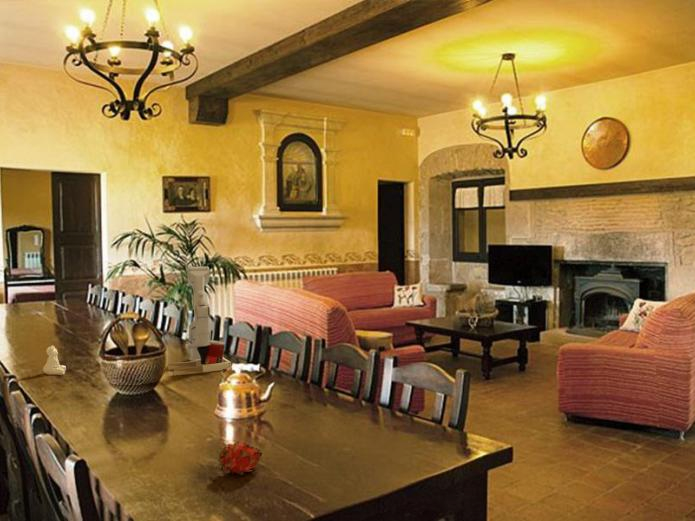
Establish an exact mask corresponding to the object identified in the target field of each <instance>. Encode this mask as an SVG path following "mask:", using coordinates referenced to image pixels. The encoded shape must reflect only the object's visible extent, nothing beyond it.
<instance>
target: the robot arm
mask: <svg viewBox="0 0 695 521" xmlns="http://www.w3.org/2000/svg"><path fill="white" fill-rule="evenodd" d="M186 271H187V272H186V274H187V275H186V276H187V284H188V286H190V287H191V288H192V290H193V316H194V318H193V319H194V320H193V321H192V322H190V324H189V325H188V341H189V342H191V343H185V350H190V357H189V358H188V360H189V361H195V360H197V359H201V364H205V356H206V353H207V351H208V345H211V343H209V340H211V338H212V333H211V332H212V331H211V325H210V318H211V308H210V305H209V300H208V294H207V292H205V286H207V285H208V284H209V280H210V267H209V266H188V267H187V268H186ZM215 341H216V342H214V343H219V342H218V341H219V340H215Z"/></svg>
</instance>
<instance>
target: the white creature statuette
mask: <svg viewBox="0 0 695 521" xmlns="http://www.w3.org/2000/svg"><path fill="white" fill-rule="evenodd" d="M45 352H46V354H47V355H48V357H47V359H46V360H47V361H46V363H45V365H44V366H43V368H42V370H43V372H44V373H45V374H46V375H54V376H55V375H56V376H57V375H58V376H61V375H65V374H66V370H67V367H66V365H63V364H62V365H61V364H60V361H59V358H58V355H59V353H58V349H57V348H56V347H55V345H50V346H48V347H47V348H46V350H45Z"/></svg>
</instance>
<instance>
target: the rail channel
mask: <svg viewBox="0 0 695 521" xmlns="http://www.w3.org/2000/svg"><path fill="white" fill-rule="evenodd" d="M167 370H168V371H173V376H175V377H177V376H182V375H183V376H184V375H192V374H200V373H201V374H202V373H204V372H203V366H197V367H196V361H191V360H189V361H182V362H171V363H167ZM176 375H177V376H176Z"/></svg>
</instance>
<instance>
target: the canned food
mask: <svg viewBox="0 0 695 521" xmlns="http://www.w3.org/2000/svg"><path fill="white" fill-rule="evenodd" d="M216 341H218V342H219V343H214V342H216ZM209 343H211V345H208V351H207V353H206V356H205V364H203V365H207V364H216V363H222V358H224V353H225V346H226V343H225V342H223V341H219V340H211V339H210V340H209Z"/></svg>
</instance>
